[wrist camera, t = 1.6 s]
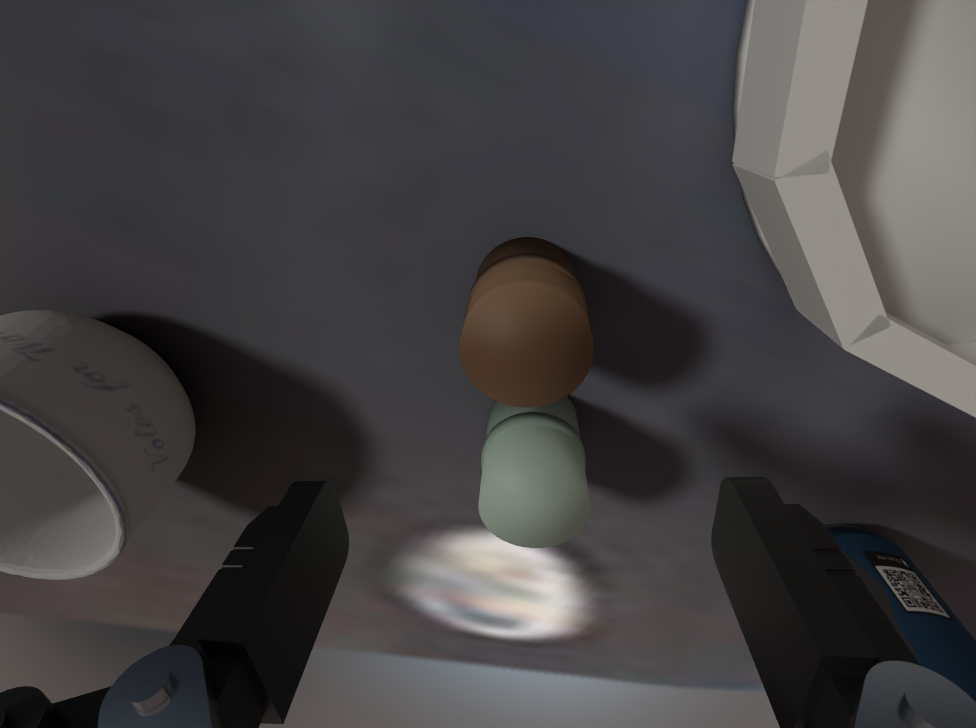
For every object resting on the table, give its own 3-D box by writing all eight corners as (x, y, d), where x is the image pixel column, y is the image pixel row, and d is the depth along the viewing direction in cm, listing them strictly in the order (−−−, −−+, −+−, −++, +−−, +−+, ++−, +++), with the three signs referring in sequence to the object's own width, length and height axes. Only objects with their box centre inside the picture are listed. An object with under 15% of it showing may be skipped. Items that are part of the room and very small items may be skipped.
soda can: (852, 608, 30) (1024, 887, 20) (739, 588, 30) (853, 858, 19) (920, 527, 27) (1173, 812, 16) (793, 504, 27) (967, 777, 16)
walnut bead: (468, 238, 21) (448, 289, 16) (580, 231, 20) (598, 281, 15) (478, 337, 23) (464, 411, 18) (580, 333, 23) (595, 408, 17)
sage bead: (482, 382, 24) (470, 464, 19) (579, 379, 24) (594, 462, 19) (490, 457, 26) (481, 549, 21) (578, 456, 26) (592, 549, 21)
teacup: (265, 391, 25) (166, 507, 18) (166, 497, 30) (54, 624, 23) (-12, 184, 21) (-276, 232, 14) (-82, 341, 25) (-313, 439, 18)
